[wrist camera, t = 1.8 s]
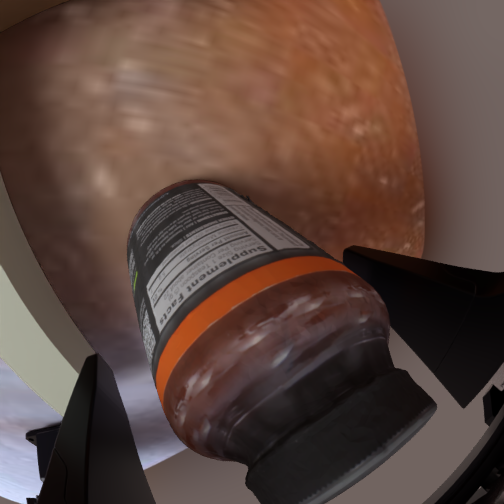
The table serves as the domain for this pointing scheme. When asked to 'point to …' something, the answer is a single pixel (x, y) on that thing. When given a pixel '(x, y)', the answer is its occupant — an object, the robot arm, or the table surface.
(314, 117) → the table surface
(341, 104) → the table surface
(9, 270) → the wall board
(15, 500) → the table surface
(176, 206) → the supplement bottle
